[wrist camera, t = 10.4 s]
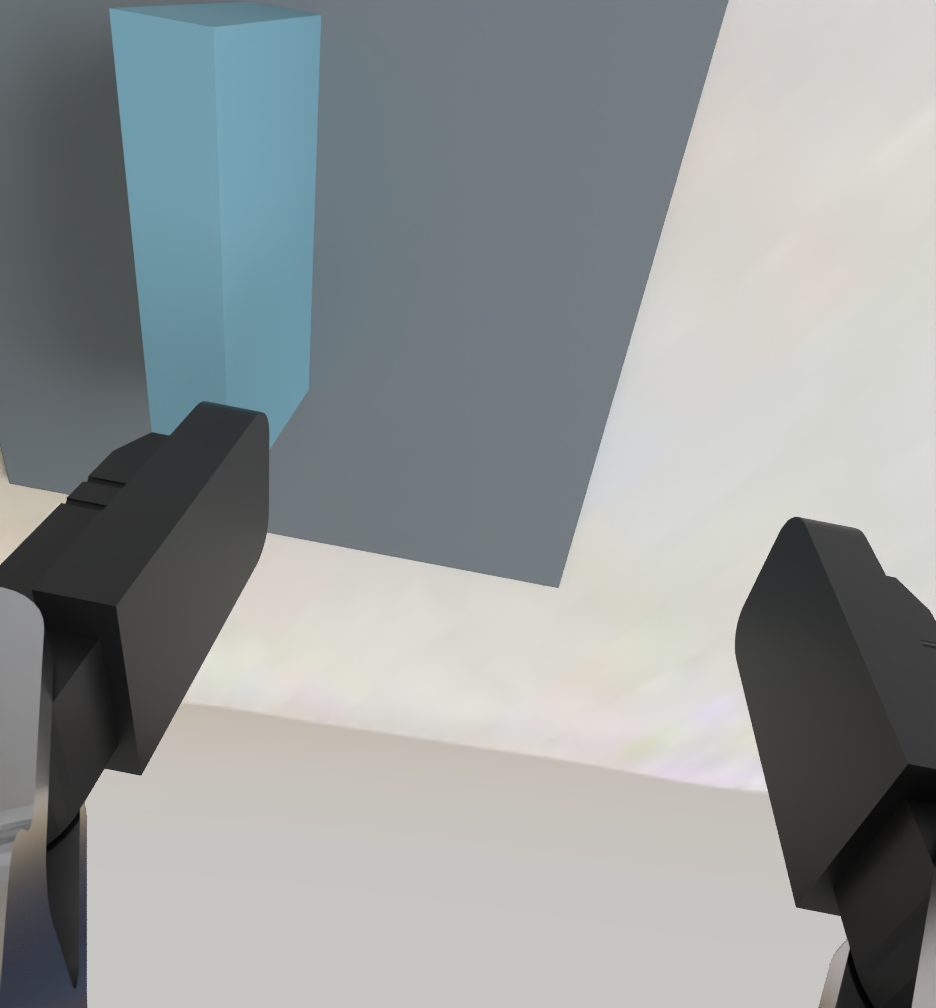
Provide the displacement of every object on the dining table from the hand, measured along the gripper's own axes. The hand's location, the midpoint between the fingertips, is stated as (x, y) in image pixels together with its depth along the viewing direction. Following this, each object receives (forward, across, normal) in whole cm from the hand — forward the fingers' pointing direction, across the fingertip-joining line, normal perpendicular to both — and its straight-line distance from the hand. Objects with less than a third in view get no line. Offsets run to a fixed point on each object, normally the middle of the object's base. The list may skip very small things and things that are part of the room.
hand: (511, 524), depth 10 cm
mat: (+12, +6, 0) cm, 13 cm away
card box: (+11, +6, 0) cm, 13 cm away
